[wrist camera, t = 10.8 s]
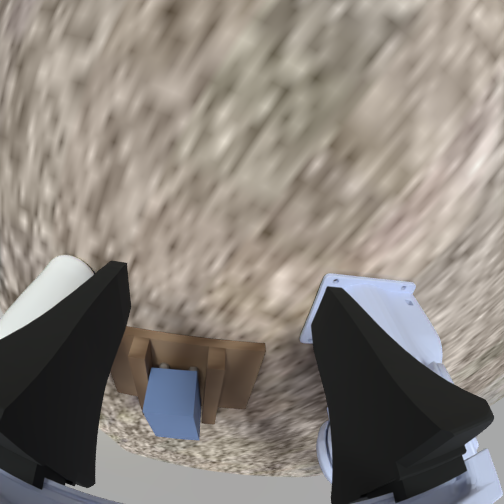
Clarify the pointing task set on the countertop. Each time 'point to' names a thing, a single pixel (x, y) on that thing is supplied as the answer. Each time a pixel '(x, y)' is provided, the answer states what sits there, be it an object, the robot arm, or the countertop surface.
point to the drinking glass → (45, 292)
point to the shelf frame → (189, 366)
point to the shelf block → (173, 403)
